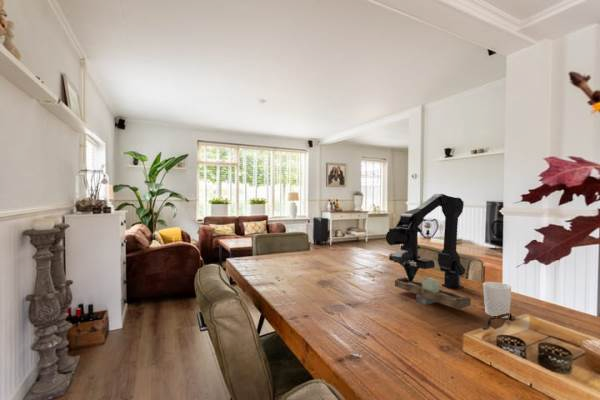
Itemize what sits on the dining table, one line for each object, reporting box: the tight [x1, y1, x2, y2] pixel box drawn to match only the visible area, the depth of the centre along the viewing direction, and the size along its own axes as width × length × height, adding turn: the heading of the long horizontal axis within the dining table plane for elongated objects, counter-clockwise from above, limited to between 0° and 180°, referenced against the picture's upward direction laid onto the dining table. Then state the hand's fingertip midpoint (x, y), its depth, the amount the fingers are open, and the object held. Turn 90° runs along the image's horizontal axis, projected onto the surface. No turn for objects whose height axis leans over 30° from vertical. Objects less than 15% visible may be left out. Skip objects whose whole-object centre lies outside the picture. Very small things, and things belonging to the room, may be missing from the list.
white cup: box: [482, 281, 512, 319], centre depth 95 cm, size 8×8×10 cm
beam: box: [394, 276, 472, 310], centre depth 108 cm, size 28×9×6 cm, turn 27°
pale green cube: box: [421, 277, 440, 293], centre depth 107 cm, size 4×4×4 cm
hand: (410, 280), depth 116 cm, fingers closed
